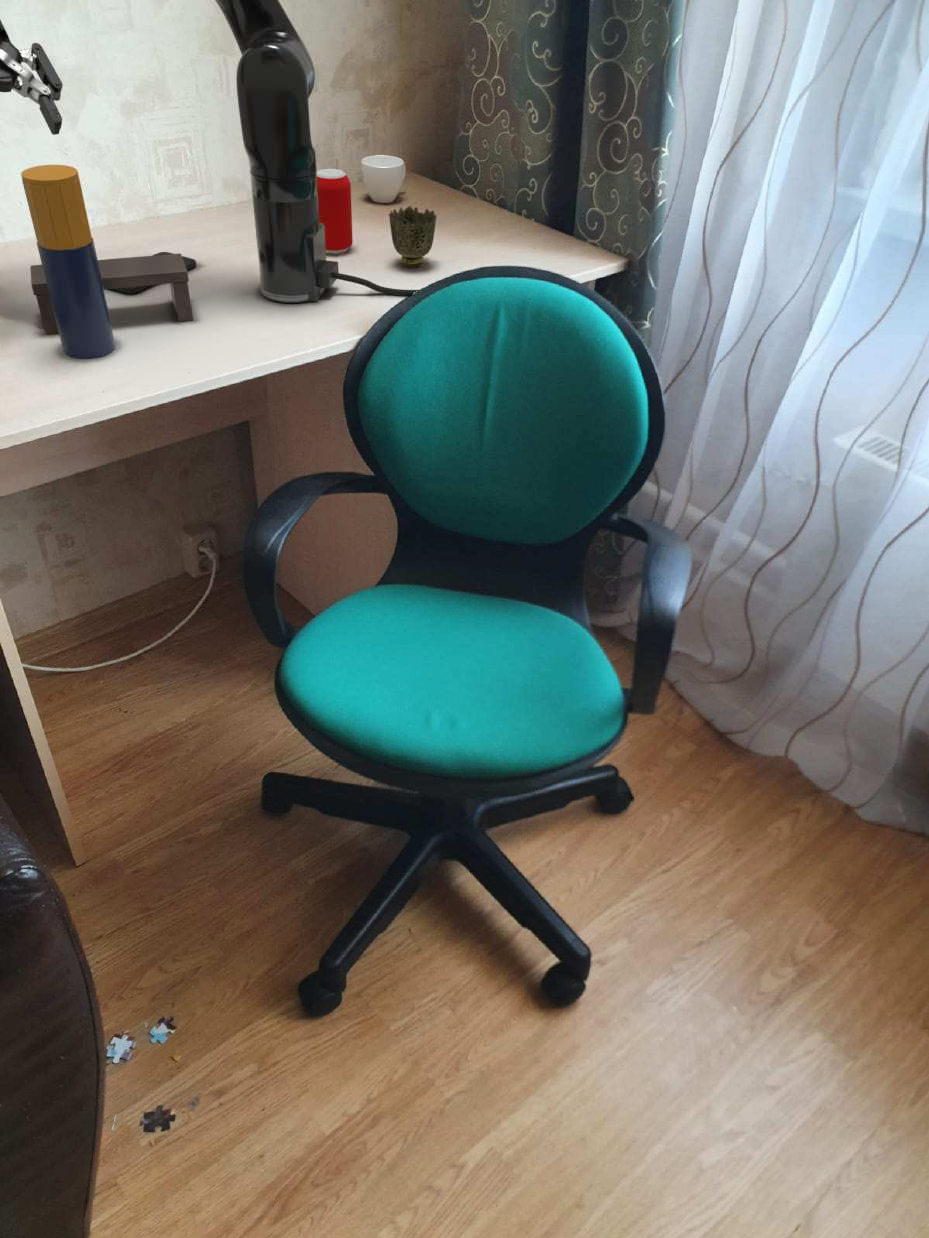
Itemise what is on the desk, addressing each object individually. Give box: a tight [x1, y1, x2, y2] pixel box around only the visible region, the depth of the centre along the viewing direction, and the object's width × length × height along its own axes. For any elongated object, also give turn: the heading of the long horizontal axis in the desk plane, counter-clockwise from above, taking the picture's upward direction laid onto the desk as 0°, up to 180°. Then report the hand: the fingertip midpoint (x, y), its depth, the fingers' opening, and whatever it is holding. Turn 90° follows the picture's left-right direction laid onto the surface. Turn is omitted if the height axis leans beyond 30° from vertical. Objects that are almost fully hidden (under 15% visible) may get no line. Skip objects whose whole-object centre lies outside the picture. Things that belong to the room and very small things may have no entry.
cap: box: [20, 164, 93, 250], centre depth 115 cm, size 6×6×8 cm
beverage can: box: [317, 168, 354, 255], centre depth 154 cm, size 6×6×12 cm
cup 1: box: [360, 154, 407, 204], centre depth 177 cm, size 8×10×7 cm
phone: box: [112, 251, 197, 294], centre depth 146 cm, size 7×1×15 cm
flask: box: [36, 237, 116, 360], centre depth 121 cm, size 7×7×18 cm
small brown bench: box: [30, 253, 194, 336], centre depth 132 cm, size 20×7×7 cm, turn 110°
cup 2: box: [388, 205, 437, 268], centre depth 152 cm, size 8×7×8 cm
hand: (22, 135), depth 114 cm, fingers open, 8 cm apart
